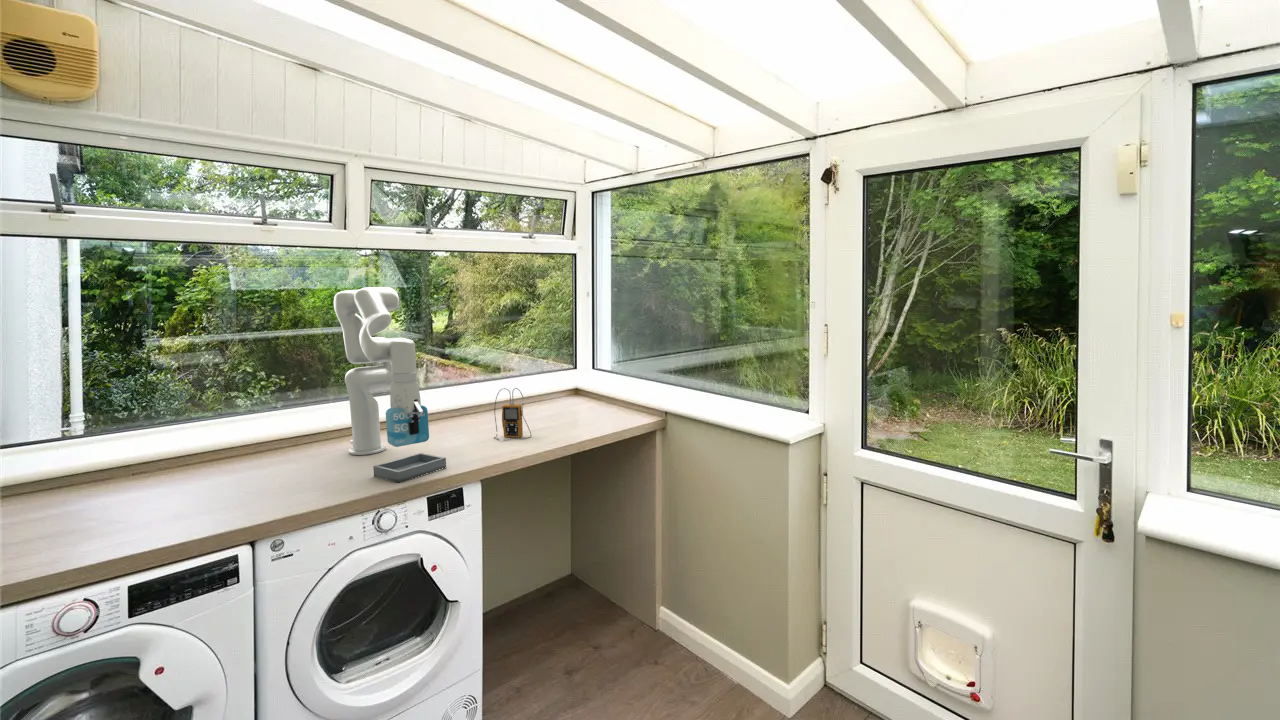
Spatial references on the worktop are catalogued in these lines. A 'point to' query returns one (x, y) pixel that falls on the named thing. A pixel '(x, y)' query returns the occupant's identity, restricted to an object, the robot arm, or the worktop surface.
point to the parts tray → (409, 467)
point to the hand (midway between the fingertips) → (408, 432)
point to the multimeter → (512, 419)
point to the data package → (405, 427)
